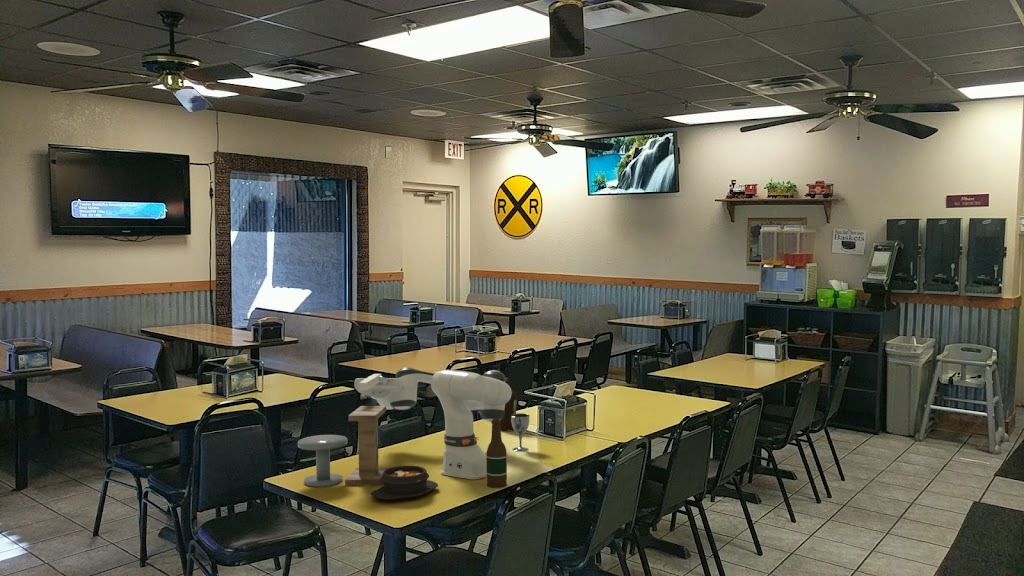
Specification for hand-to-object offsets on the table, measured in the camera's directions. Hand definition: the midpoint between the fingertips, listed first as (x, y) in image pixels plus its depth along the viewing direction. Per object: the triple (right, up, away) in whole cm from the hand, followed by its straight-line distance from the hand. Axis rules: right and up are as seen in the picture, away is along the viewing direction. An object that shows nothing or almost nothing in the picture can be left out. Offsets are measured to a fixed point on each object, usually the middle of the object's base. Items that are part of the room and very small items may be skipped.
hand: (375, 377), depth 307 cm
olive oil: (+54, -32, +54) cm, 83 cm away
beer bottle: (+51, -35, -37) cm, 72 cm away
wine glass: (+61, -33, +14) cm, 71 cm away
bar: (0, -2, -8) cm, 8 cm away
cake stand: (-14, -35, -30) cm, 48 cm away
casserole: (+19, -36, -47) cm, 62 cm away
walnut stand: (+3, -35, -27) cm, 44 cm away
